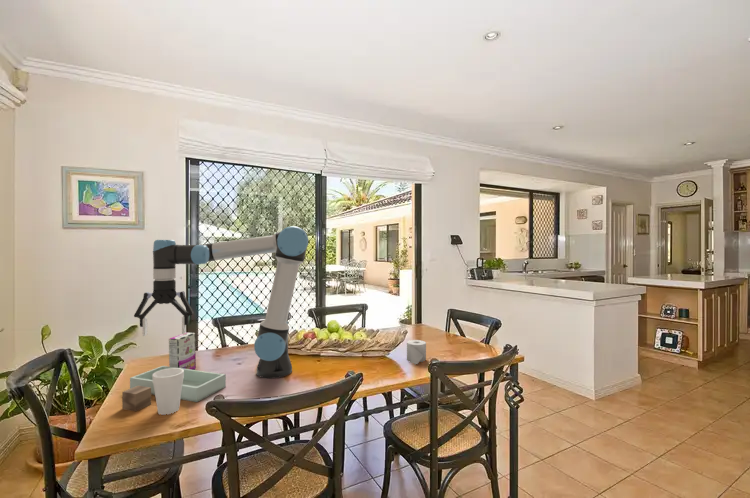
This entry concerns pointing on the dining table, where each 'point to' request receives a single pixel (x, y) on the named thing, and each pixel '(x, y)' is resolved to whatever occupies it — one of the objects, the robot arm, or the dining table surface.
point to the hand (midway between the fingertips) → (164, 334)
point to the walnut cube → (136, 398)
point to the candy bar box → (182, 351)
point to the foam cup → (168, 389)
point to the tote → (186, 383)
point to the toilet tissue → (416, 351)
